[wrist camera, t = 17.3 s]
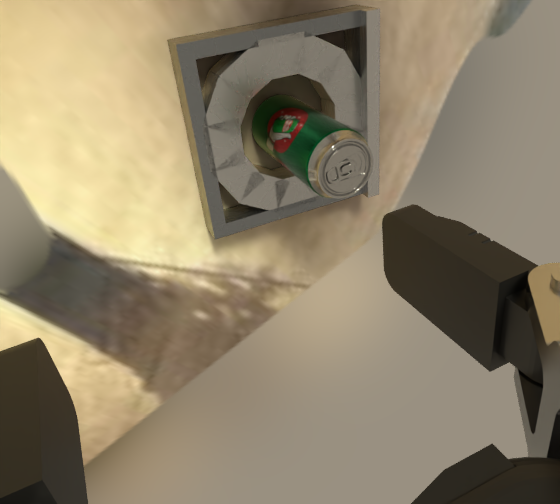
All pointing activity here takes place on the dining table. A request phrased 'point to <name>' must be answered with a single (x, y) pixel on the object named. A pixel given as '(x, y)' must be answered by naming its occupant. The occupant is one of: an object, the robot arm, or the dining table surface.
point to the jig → (249, 81)
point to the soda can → (313, 146)
